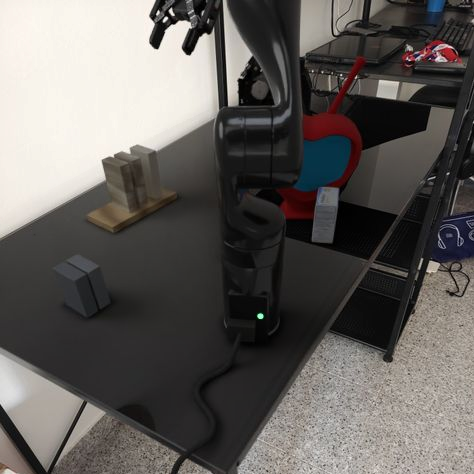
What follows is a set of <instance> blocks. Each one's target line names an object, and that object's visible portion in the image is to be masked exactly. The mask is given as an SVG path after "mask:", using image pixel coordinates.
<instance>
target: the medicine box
mask: <svg viewBox="0 0 474 474" xmlns="http://www.w3.org/2000/svg"><path fill="white" fill-rule="evenodd" d="M339 199H340V188H333V187H319V189H318V195H317V201H316V206H315V213H314V219H313V225H312V233H311V234H312V235H311V242H312V243H318V244H319V243H320V244H331V245H332V244H333V242H334V237H335V230H336V224H337V223H336V222H337V218H338V217H337V216H338V209H339Z"/></svg>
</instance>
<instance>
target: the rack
mask: <svg viewBox="0 0 474 474" xmlns="http://www.w3.org/2000/svg"><path fill="white" fill-rule="evenodd" d="M100 160H101V161H100V162H101V164H102V165H101V166H102V169H103V174H104V177H105V181H106V186H107V190H108V193H109V198H110V202H108V203H107V204H105V205H103V206H101V207H99V208H97V209H94V210H93V211H91V212H89V213H87V214H86V218H87V221H88V222H89V223H92V224H94V225H96V226H98V227H100V228H102V229H104V230H106V231H109V232H111V233H112V234H116V233H117V232H119V231H121V230H122V229H125V228H126V227H128V226H130V225H131V224H133V223H135V222H137V221H139V220H140V219H143V218H145V217H146V216H148V215H149V214H151V213H154V212H155V211H157V210H158V209H160V208H163V207H164V206H165V205H167V204H169V203H171V202H173V201H176V199H178V193H177V191H174V190H172V189H169V188H166V187H163V186H161V189H162V196H161V197H159V198H157V199H153V198H151V197H148V196H147V193H146V187H145V181H144V176H143V170H142V164H141V158H140V157H137V156H134V155H131V153H128V152H125V151H123V150H120V151H119V152H117V153H114V154H113V156H111V155H109V156H107V157H104V158H102V159H100Z"/></svg>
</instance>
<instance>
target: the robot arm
mask: <svg viewBox="0 0 474 474" xmlns="http://www.w3.org/2000/svg"><path fill="white" fill-rule="evenodd" d="M225 1H226V9H227V12H228V15H229V18H230V20H231V22H232V24H233V27H234V28H235V30H236V32H237V34H238V35H239V37H240V39H241V40H242V42H243V43H244V44H245V46H246V47H247V49H248V50H249V52H250V53H251V56H252V55H253V56H254V58H255V59H256V61H257V62H258V64H259V65H260V67H261V69H262V70H261V71H263V73H264V75H265V77H266V79H267V81H268V84H269V87H270V90H271V93H272V96H273V100H274V104H275V106H272V107H271V106H239V105H232V106H231V105H230V106H229V105H228V106H223V107H222V108H220V109H219V110H218V112H217V113H216V115H215V118H214V121H213V130H212V143H213V144H212V146H213V158H214V168H215V176H216V177H215V178H216V186H217V187H216V188H217V196H218V212H219V213H218V214H219V215H218V216H219V239H220V263H221V265H220V266H221V284H222V302H223V303H222V304H223V305H222V306H223V325H224V329H225V330H226V340H227V341H233V342H234V343H233V346H232V349H231V351H230V354H229V356H228V357H229V358H228V360H227V361H226V363H225V364H224V365H223V366H221V367H220V368H218V369H217V370H215V371H213V372H210V373H208V374H206V375H204V376H203V377H201V378H200V379H199V380H198V381H197V382H196V384H195V386H194V390H193V396H194V399H195V401H196V402H197V404H198V406H199V407H200V408H201V410H202V411H203V412H204V413H205V414H206V416H207V418H208V420H209V423H210V424H209V425H210V426H209V430H208V433H207V434H206V435H205V437H203V438H202V439H201V440H200V441H198V442H196V443H195V444H193V445H191V446H190V447H189V448H187V449H186V450H184V451H183V452H182V453H181V454H180V455H179V456H178V457H177V459H176V460H175V462H174V464H173V466H172V468H171V470H170V473H169V474H178V473H179V470H180V468H181V467H182V465H183V464H184V463H185V462H186V460H188V459H189V458H190V456H192V455H193V454H195V453H196V452H198V451H199V450H201V449H203V448H204V447H205V446H206V445H208V444H209V443H210V442H211V441H212V439H213V438H214V436H215V434H216V432H217V427H218V426H217V424H218V423H217V419H216V416H215V415H214V413H213V411H212V410H211V409H210V407H209V405H207V404H206V403H205V401H204V400H203V398H202V396H201V389H202V387H203V386H204V384H206V383H207V382H210V380H213V379H216V378H217V377H220V376H221V375H223V374H225V372H227V371H228V370H229V369H230V368H231V367H232V365H233V364H234V362H235V360H236V356H237V353H238V352H239V348H240V345H241V343H242V342H244V343H255V342H260V343H268V340H269V338H271V337H272V336H273V335H274V334H276V332H277V331H278V329H279V327H280V310H281V296H282V295H281V293H282V280H283V267H284V253H285V242H286V228H287V219H286V218H285V214H284V212H283V211H282V210H281V208H280V206H279V205H277V204H275V202H272V201H269V200H267V199H264V198H262V197H259V196H257V195H255V194H254V193H251V191H249V190H276V189H287V188H291V187H294V186H295V185H296V184H297V182H298V181H299V179H300V176H301V172H302V167H303V158H304V131H303V111H302V93H301V75H300V57H301V56H300V55H301V15H302V0H225ZM222 6H223V3H222V1H221V0H155V1H154V4H153V5H152V8H151V10H150V12H149V14H148V18H149V19H150V20H151V21H152V22H153V24H154V25H153V28H152V30H151V32H150V35H149V37H148V44H149V45H150V47H152V48H153V49H154V50H159V49H160V47H161V44H162V42H163V40H164V37H165V34H166V31H167V30H168V29H169V28H170V27H171V26H175V25H177V24H178V23H179V22H187V23H190V27H191V28H190V27H188V30H187V32H186V35H185V37H184V40H183V42H182V44H181V51H182V52H183V53H184V54H185V56H189V57H190V56H192V54H193V53H194V51H195V49H196V47H197V45H198V42H199V40H200V38H202V37H203V36H204V35H205V34H206V35H207V36H210V35H211V34H212V33H213V30H214V28H215V25H216V23H217V20H218V18H219V14H220V12H221V9H222ZM170 10H171V12H172V13H173V14H172V13H171V12H170ZM158 12H159V13H158ZM165 18H167V19H166V20H165V21H164V19H165Z"/></svg>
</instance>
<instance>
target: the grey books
mask: <svg viewBox="0 0 474 474" xmlns="http://www.w3.org/2000/svg"><path fill="white" fill-rule="evenodd" d="M51 269H52V272H53V274H54V276H55V279H56V282H57V284H58V287H59V289H60V292H61V294H62V297H63V299H64V302H65V305H66V306H68V307H69V308H70V309H72V310H74V311H75V312H77V313H79V314H81V315H82V316H84V317H85V318H86V319H88V318H90V317H92V316H93V315H95V314H97V313H98V312H99V311H100V310H103V308H105V307H107V306H109V305H110V304H111V303H112V302H111V300H110V296H109V293H108V288H107V285H106V282H105V280H104V279H105V278H104V276H103V272H102V269H101V266H100V265H99V264H97V263H95V262H94V261H91V260H90V259H88V258H86V257H84V256H83V255H80V254H79V253H77V254H75V255H73V256H71V257H70V258H68V259H66V260H65V261H62V262H59V264H57V265H55V266H53V267H52V268H51Z"/></svg>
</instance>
